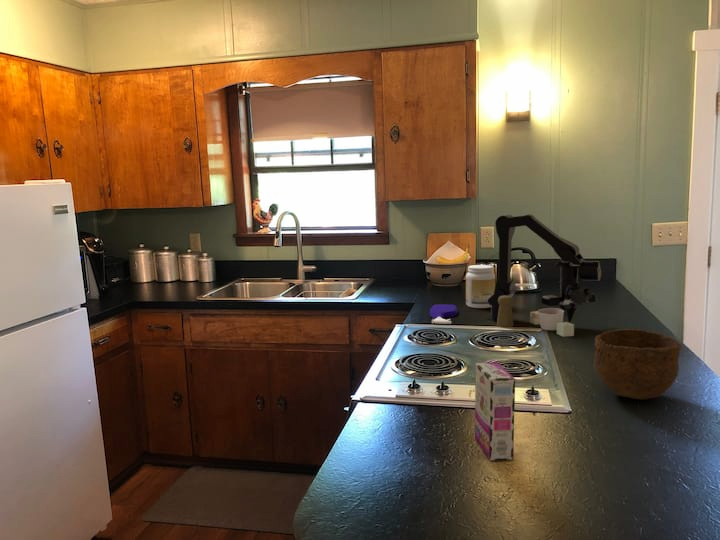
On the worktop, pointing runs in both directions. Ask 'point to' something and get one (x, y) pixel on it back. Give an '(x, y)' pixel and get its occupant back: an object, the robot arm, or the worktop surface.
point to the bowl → (636, 362)
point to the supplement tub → (479, 285)
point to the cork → (505, 311)
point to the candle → (550, 318)
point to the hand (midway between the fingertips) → (568, 322)
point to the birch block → (534, 317)
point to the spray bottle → (442, 313)
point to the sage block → (565, 329)
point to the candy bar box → (494, 411)
